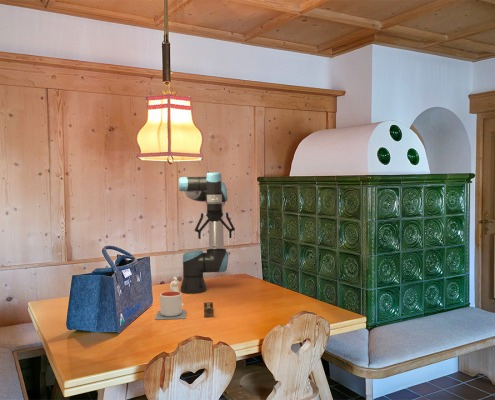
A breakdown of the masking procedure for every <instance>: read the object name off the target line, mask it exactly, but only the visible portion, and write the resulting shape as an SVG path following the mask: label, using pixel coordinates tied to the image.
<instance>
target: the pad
mask: <svg viewBox="0 0 495 400" xmlns="http://www.w3.org/2000/svg"><path fill="white" fill-rule="evenodd" d="M186 316H187V309H182V312H181V314H180V315H178V316H173V317H166V316H163V315H162V314H161V310H157V312H156V315H155V318H154V321H168V320H185V319H186Z"/></svg>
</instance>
